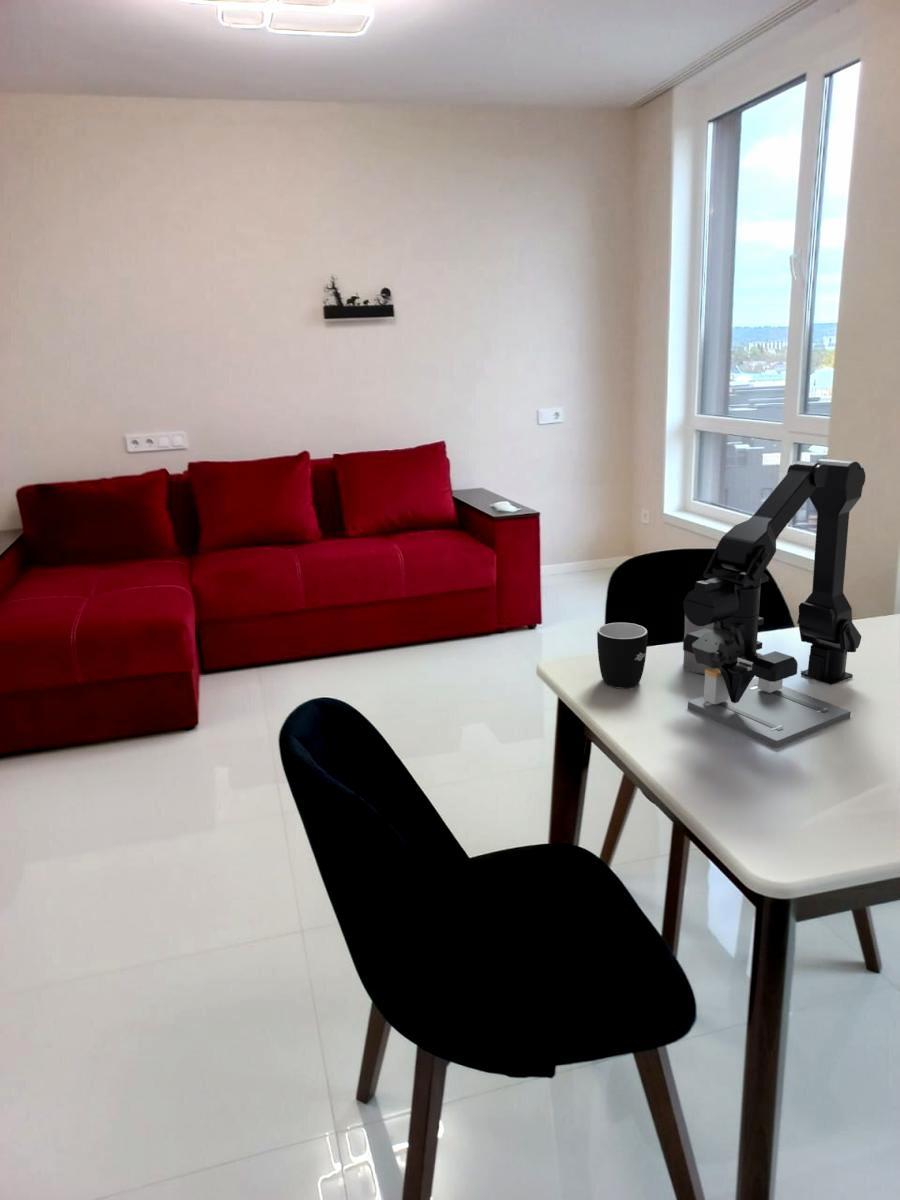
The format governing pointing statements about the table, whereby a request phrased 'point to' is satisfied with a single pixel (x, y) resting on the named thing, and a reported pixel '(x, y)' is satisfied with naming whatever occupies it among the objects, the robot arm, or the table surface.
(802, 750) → the table surface
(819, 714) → the console
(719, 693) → the fader
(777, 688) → the fader
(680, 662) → the table surface
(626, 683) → the mug
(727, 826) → the table surface
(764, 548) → the robot arm
